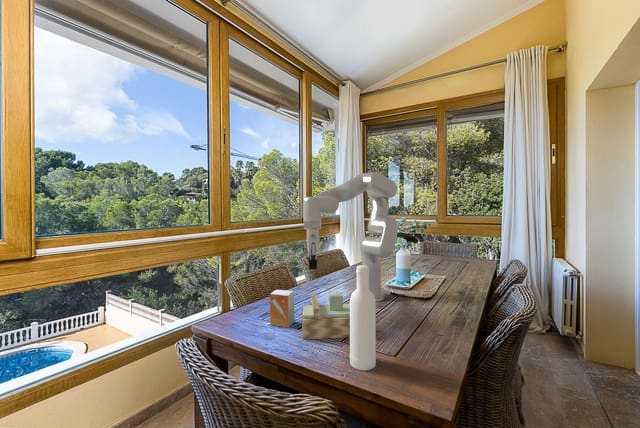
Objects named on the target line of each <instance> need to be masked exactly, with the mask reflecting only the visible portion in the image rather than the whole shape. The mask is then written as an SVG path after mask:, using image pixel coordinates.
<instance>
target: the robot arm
mask: <svg viewBox="0 0 640 428" xmlns="http://www.w3.org/2000/svg"><path fill="white" fill-rule="evenodd" d="M364 192H366V194H367V195H368V197H369V199H370V202H371V211H370V216H369V219H368V224H367V231H368V233H370V234H372V235H375V236H369V235H368V236H364V237H363V238H361V241H360V243H359V249H360V255H361V265H365V266H368V267H369V290H370V291H371V292H372V293H373V294H374V297H375V300H376V303H377V302H381V301H384V300H385V295H386V296H387V295H388V296H389V295H391V291H390V290H387V289H382V264H381V259H380V258H385V259H388V258H389V257H391V256H392V254H393V253H394V250H395V246H396V243H397V242H396V241H397V236H398V233H399V223H398V221H397V219H396V218H395V217H391V216H388V214H389V205H388V202H387V200H386V199H388V198H389V199H391V198H393V197H395V196H396V195H397V193H398V185H397V183H396V182H395V181H394V180H392V179H391V178H389V177H387V176H385V175H383V174H381V173H380V172H375V171H374V172H373V171H372V172H363V173H360V174H358V175H356V176H354V177H352V178H350V179H349V180H347V181H345V182H344V183H342V184H341V183H340V184H338V185H336V186H334V187H332V188H330V189H327V190H324V191H322V192H321V193H319V194H317V195H315V196H306V197H304V198H303V230H306V246H307V252H308V253H309V255H308V256H309V257H308V267H309V269H308V270H317V269H318V260H317V253H318V254H319V253H320V252H321V247H320V243H321V241H320V230H322V214H333V213H336V212H337V211H338V210H339V208H340V203H343V202H345V203H346V202H349V201H351V200H353V199H355V198H357V197H358V196H359V195H361V194H363V193H364ZM378 236H381V237H378Z"/></svg>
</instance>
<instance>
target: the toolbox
mask: <svg viewBox="0 0 640 428" xmlns="http://www.w3.org/2000/svg"><path fill="white" fill-rule="evenodd" d="M308 305H312V302H308ZM318 305H320V302H319V301H318ZM301 325H302V326H301V329H302V340H312V339H313V340H317V339H318V340H321V339H336V338H337V339H338V338H341V339H342V338H344V339H345V338H350V317H336V318H322V315H319V317H314V315H311V319H303V308H302V307H301Z"/></svg>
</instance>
